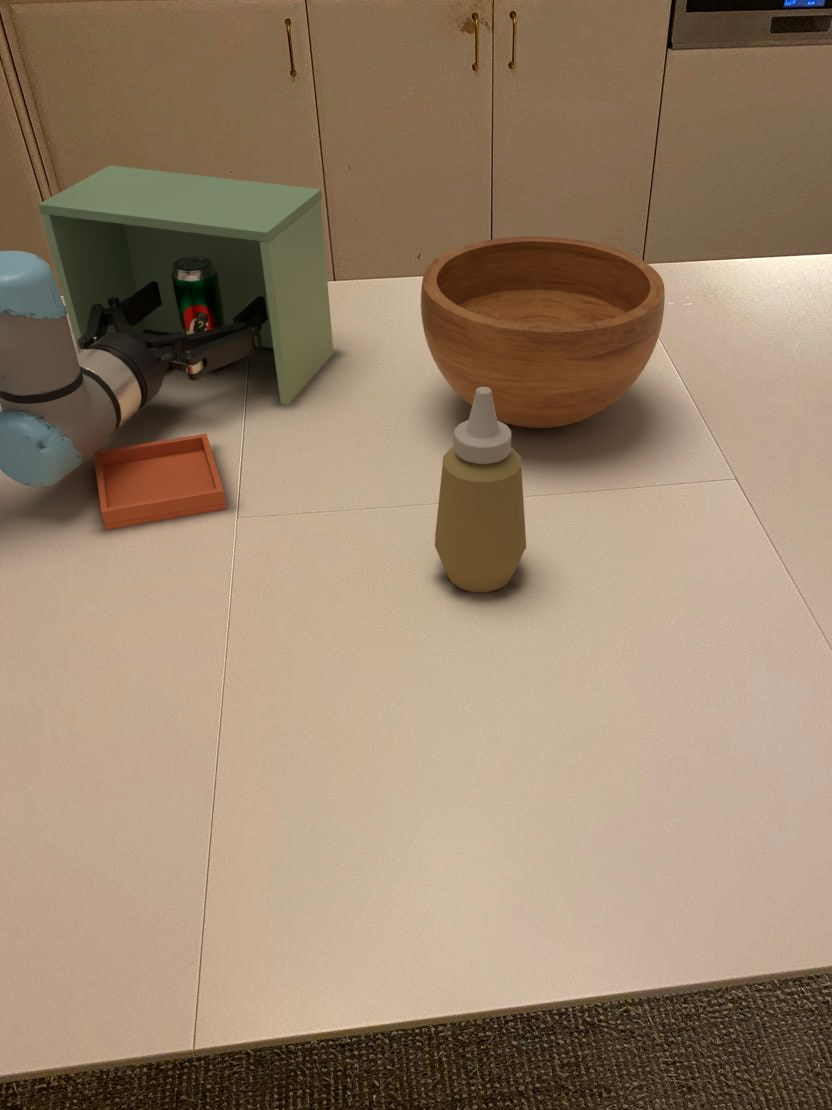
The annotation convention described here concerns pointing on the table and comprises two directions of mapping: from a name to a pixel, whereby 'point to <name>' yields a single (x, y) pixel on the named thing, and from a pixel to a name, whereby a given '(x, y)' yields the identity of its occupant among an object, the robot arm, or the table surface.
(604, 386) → the bowl
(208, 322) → the soda can
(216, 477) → the tray
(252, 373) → the table surface
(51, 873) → the table surface
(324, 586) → the table surface
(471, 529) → the squeeze bottle
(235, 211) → the cubby
